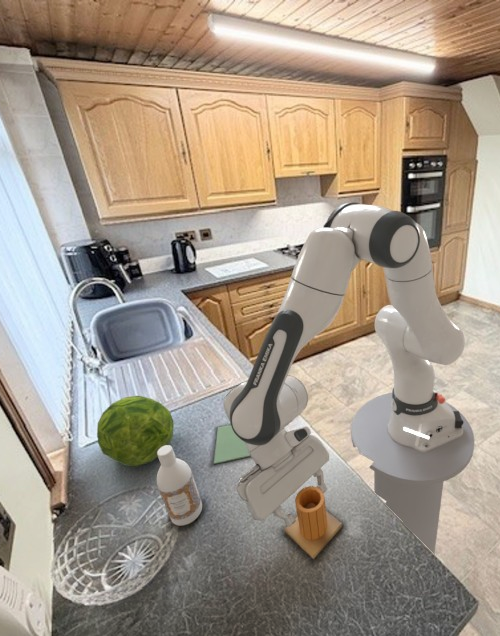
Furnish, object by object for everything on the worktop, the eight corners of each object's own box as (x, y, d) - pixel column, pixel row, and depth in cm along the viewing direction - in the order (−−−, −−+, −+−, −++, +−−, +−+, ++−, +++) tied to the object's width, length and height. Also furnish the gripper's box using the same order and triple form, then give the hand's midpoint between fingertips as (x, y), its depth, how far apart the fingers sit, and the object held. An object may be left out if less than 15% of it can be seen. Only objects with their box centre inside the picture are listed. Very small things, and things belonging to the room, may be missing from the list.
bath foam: (169, 531, 77) (143, 467, 69) (172, 504, 83) (148, 443, 75) (202, 520, 79) (181, 457, 71) (203, 495, 85) (183, 434, 76)
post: (313, 502, 82) (311, 482, 79) (342, 526, 77) (340, 505, 74) (284, 531, 76) (280, 511, 73) (313, 559, 71) (310, 538, 68)
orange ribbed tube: (324, 510, 79) (321, 483, 75) (329, 535, 74) (326, 507, 70) (297, 517, 78) (293, 490, 74) (301, 543, 73) (297, 515, 69)
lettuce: (159, 414, 113) (129, 374, 105) (194, 437, 98) (162, 392, 90) (106, 456, 102) (67, 415, 94) (136, 489, 88) (94, 443, 80)
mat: (264, 419, 109) (264, 418, 109) (266, 452, 97) (266, 451, 96) (217, 428, 106) (217, 427, 106) (214, 464, 94) (213, 463, 94)
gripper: (236, 481, 66) (276, 546, 65) (313, 422, 80) (346, 474, 78) (228, 485, 71) (264, 545, 69) (301, 428, 85) (333, 477, 83)
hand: (308, 507), depth 74 cm, fingers open, 8 cm apart
